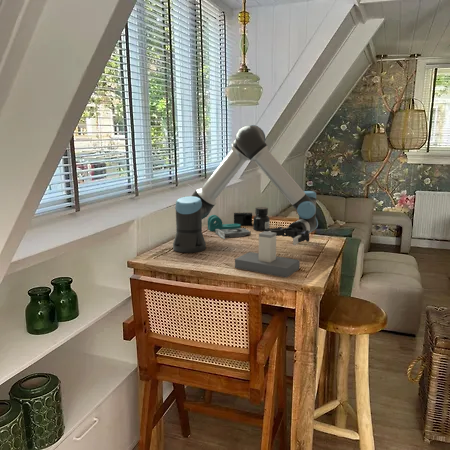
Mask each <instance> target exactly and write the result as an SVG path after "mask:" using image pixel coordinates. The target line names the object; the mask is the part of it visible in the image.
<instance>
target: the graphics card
mask: <svg viewBox="0 0 450 450" xmlns="http://www.w3.org/2000/svg"><path fill="white" fill-rule="evenodd" d="M215 230H216V231H214V232H215V234H214V235H216V236H218V237H219V238H220V239H223V240H224V241H225V238H227V239H231V238H236V237H246V236H247V235H251V230H250V231H249V229H246V227H241V228H237V229H223V230H219V229H215Z"/></svg>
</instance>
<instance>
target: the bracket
mask: <svg viewBox="0 0 450 450" xmlns="http://www.w3.org/2000/svg"><path fill="white" fill-rule="evenodd" d="M237 228H242V226H241V225H240V224H234V223H223V220H222V219H221V218H220V217H219V216H218V215H216V214H212V215H210V216H208V219H207V230H208V231H209V232H215V231H216V230H215V229H219V230H223V229H237ZM216 232H217V231H216Z"/></svg>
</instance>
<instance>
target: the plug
mask: <svg viewBox="0 0 450 450" xmlns="http://www.w3.org/2000/svg"><path fill="white" fill-rule="evenodd" d="M258 253H259V257H258V260H259V261H264V262H270V263H271V262H272V261H274V260H276V256H277V236H276V233H274V232H267V231H261V232H259V233H258Z"/></svg>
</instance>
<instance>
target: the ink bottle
mask: <svg viewBox="0 0 450 450" xmlns="http://www.w3.org/2000/svg"><path fill="white" fill-rule="evenodd" d="M254 211H255V216H254V217H253V218H252V226H253V227H252V229H253V230H254V231H259V232H264V230H265V229H270V227H271V226H270V224H271V223H270V221H271V219H270V217H269V208H268V207H266V206H257V207H255V210H254Z"/></svg>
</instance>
